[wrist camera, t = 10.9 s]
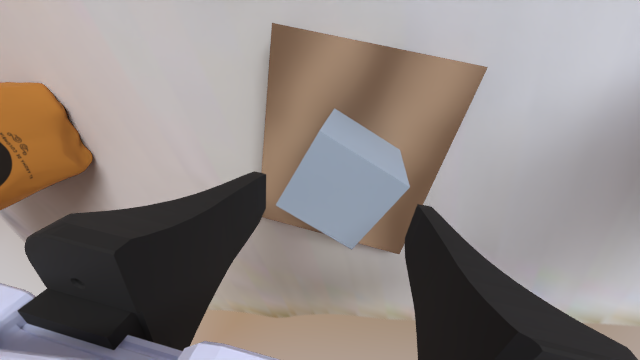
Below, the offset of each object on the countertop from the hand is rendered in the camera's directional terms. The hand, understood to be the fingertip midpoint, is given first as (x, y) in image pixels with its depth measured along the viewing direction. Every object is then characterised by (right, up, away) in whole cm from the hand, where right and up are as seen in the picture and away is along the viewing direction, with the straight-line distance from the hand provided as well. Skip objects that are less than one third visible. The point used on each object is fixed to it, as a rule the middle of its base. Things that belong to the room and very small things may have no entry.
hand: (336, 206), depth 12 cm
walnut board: (+1, +3, +7) cm, 7 cm away
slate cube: (+1, +3, +5) cm, 6 cm away
